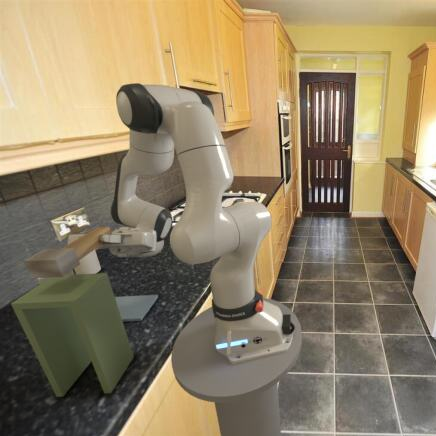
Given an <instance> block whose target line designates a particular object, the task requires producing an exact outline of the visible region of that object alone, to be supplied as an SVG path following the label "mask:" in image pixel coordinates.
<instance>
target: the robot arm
mask: <svg viewBox="0 0 436 436" xmlns="http://www.w3.org/2000/svg"><path fill="white" fill-rule="evenodd" d="M115 97H116V98H115V102H116V110H117V113H118V116H119V119H120V121H121V123H123V125H124V126H125V127H126V128H127V129H129V132H128V133H129V134H128V135H129V136H128V137H129V138H128V140H129V141H128V142H129V147H128V152H125V153H124V154H122V156H121V157H120V159H119V162H118V164H117V165H118V166H117V171H116V176H115V177H116V180H115V185H114V186H115V188H114V195H113V200H112V203H111V205H110V210H109V211H110V216H111V218H112V220H113V222H114V223H116V224H118V225H122V226H121V227H118V228H116V229H114V230H113V231H111V235H99V242H105V243H103V244H102V245H100V246H99V247H98V248H96V249H95V250H106V249H107V250H109V252H110V253H111V254H112V255H113V256H115V257H118V258H151V257H154V256H156V255H158V254H159V253H160V252H161V251H162V250H163V248H164V246H165V239H166V238H167V237H168V236H169V246H170V248H171V251H172V253H173V255H174V256H175V257H176V258H177V259H178V260H179V261H180V262H181V263H184V264H186V265H189V266H192V265H199V264H203V263H207V262H211V261H213V260H216V259H218V261H217V262H215V264H214V265H213V267H212V268H211V270H210V273H209V282H210V290H211V296H212V298H211V307H212V310H213V314H214V318H215V321H216V328H215V337H214V346H215V348H216V350H217V351H218V352H219V353H221V354H222V355H224V356H226V358H227V359H228V361H229V362H230V363H231V364H237V363H241V362H246V361H250V360H254V359H259V358H263V357H268V356H272V355H277V354H281V353H285V352H287V351H288V349H289V348H290V346H291V343H292V339H293V331H294V329H295V326H294V324H293V323H292V322H291V314H282V311H281V309H280V308H279V307H278V306H276V305H274V304H271V303H269V302H267V301H265V300H263V298H264V296H263V289H262V288H261V289H260V292H259V291H258V290H256V289H255V288H256V287H255V264H256V259H257V256H258V253H259V250H260V248H261V245H262V243H263V242H264V239H265V238H266V236H267V235H268V234H269V232H271V229H272V222H273V221H272V215H271V213H270V210H269V209H268V208H267V207H266V206H265V204H263V203H262V202H259V201H244V202H243V201H242V202H238V203H235V204H231V205H228V206H225V207H223V203H222V201H223V197H224V196H223V195H224V193H225V192H226V191H227V190H228V189H229V188H230V187H231V185H232V184H233V182H234V177H235V175H234V171H233V167H232V163H231V159H230V155H229V152H228V150H227V147H226V143H225V140H224V137H223V134H222V131H221V129H220V127H219V123H218V122H217V120H216V118H215V109H214V106H213V103H212V101H211V99H210V98H209V97H208V95H206V94H205V93H203V92H200V91H197V90H195V89H185V88H180V87H176V86H170V85H165V84H141V83H140V82H135V83H125V84H123V85H121V86H120V87H119V89H118V91H117V93H116V96H115ZM175 152H176V156H177V159H178V162H179V167H180V169H181V173H182V177H183V182H184V186H185V187H184V188H185V203H184V208H183V210H182V212H181V215H180V217H179V219H178V221H177V222H176V223H175V224H174V226H173V222H174V221H173V216H172V212H171V211H170V210H169V208H167V207H163V206H161V205H158V204H155V203H152V202H149V201H146V200H143V199H141V198H140V197H138V195H137V194H136V191H137V184H138V178H139V177H140V176H142V177H143V176H144V177H145V176H146V177H147V176H156V175H160V174H162V173H165V172H166V171H168V170H169V169H170V168H171V167H172V166H173V162H174V158H175ZM129 227H132V228H129ZM85 234H86V233H81V234H80V233H78V234H69V235H68V237H67V245H68V244H70V243H72V242H73V241H75V240H77V239H79V238H80V237H82V236H84V235H85ZM169 234H170V235H169Z"/></svg>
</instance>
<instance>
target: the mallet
mask: <svg viewBox="0 0 436 436" xmlns="http://www.w3.org/2000/svg"><path fill="white" fill-rule="evenodd" d="M111 233H112V230H111V229H110V226H97V227H95V228H94V229H92V230H90V231H88V232H87V233H84V234H85V235H84V236H82V237H80V238H79V239H77V240H75V241H73V242H72V243H70V244H68V243H67V245H65V246H63V247H62V248H44V249H43V250H40V251H39V252H37V253H35V254H33V255H31V256H30V257H28V258H26V259H24V260H23V263H24V265H25V269H26V270H27V272H28V275H29V278H30V279H38V278H51V277H63V276H65V275H66V274H67V273H69V272H70V271H72V270H73V271H74V268H76V267H77V266H79V265H80V262H79V260H80V259H82V258H83V257H85V256H86V255H88V254H89V253H90V252H92V251H93V250H95V251H96V250H97V249H96V248H98V247H99V246H100V245H102V244H103V243H105V242H99V235H111Z"/></svg>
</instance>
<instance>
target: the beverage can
mask: <svg viewBox="0 0 436 436" xmlns="http://www.w3.org/2000/svg"><path fill="white" fill-rule="evenodd" d="M79 262H80V265H79V266H77V267H76V268H74V269H73V271H74V273H75V274H97V273H99V272H100V271H101V270H102V267H101V264H100V261H99V257H98V254H97V252H96V249H95V250H93V251H92V252H90V253H89V254H88V255H86V256H85V257H83V258H82V259H80V260H79Z"/></svg>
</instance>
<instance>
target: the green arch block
mask: <svg viewBox="0 0 436 436" xmlns="http://www.w3.org/2000/svg"><path fill="white" fill-rule="evenodd" d="M112 287H113V286H112V284H111V282H110V278H109V275H108V273H107V272H100V273H99V272H97V273H96V274H76V273H74V275H65V276H63V277H51V278H48V279H47V280H45V281H44V282H42V283H41V284H39V283H38V285H37V286H35V287H34V288H32V289H30V290H29V291H28V292H26V293H24V294H23V295H22V296H20V297H19V298H17V299H15V300H14V301H12V302H11V303H10V305H11V307H12V309H13V311H14V313H15V315H16V318H17V319H18V321H19V323H20V326H21V328H22V330H23V332H24V334H25V336H26V337H27V340H28V342H29V345H30V346H31V348H32V350H33V352H34V354H35V356H36V359H37V360H38V362H39V364H40V366H41V368H42V371H43V372H44V374H45V376H46V378H47V380H48V382H49V385H50V387H51V388H52V390H53V393H54V394H55V396H56V398H61V397H65V396H66V394H67V393H68V391H69V390H70V389H71V388H72V386H73V385H74V384H75V382H76V381H77V380H78V379H79V378H80V376H81V375H82V374H83V373H84V371H85V370H86V369H87V368H88V366H90V364H92V366H93V368H94V371H95V374H96V376H97V378H98V381H99V383H100V386H101V389H102V391H103V394H112V393H113V391H114V390H115V388H116V387H117V385H118V383H119V381H120V380H121V378H122V377H123V375H124V373H125V372H126V370H127V369H128V368H129V366H130V364H131V362H132V361H133V359H134V358H135V356H134V352H133V349H132V346H131V343H130V341H129V338H128V334H127V330H126V328H125V325H124V322H123V321H122V318H121V315H120V312H119V309H118V306H117V303H116V300H115V297H116V296H115V294H114V291H113V288H112Z"/></svg>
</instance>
